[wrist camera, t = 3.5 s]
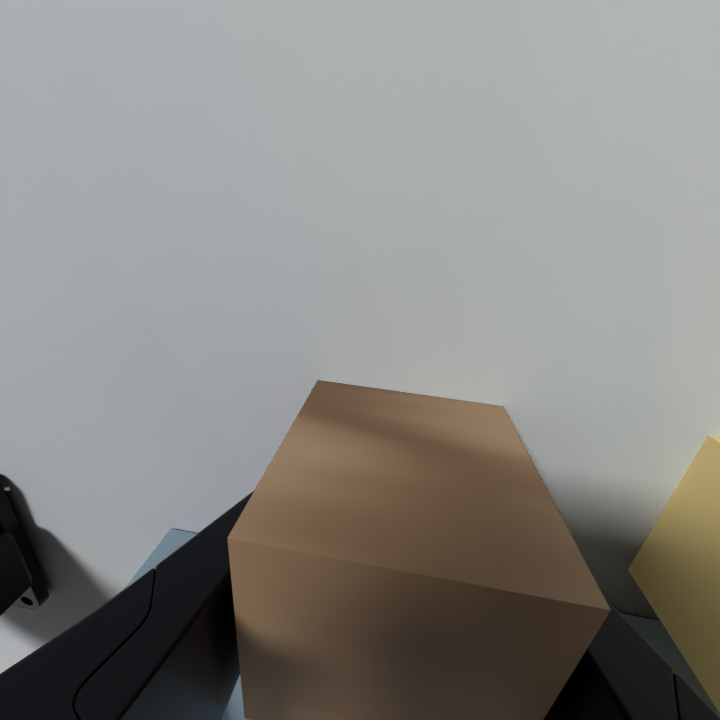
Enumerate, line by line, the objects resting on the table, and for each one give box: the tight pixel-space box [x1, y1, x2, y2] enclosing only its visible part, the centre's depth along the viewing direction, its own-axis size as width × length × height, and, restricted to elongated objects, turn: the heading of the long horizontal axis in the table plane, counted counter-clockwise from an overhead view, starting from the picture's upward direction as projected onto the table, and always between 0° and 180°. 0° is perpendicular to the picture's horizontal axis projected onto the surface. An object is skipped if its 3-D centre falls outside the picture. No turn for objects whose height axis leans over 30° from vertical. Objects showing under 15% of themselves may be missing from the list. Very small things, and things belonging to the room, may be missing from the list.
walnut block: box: [227, 380, 611, 720], centre depth 7 cm, size 4×4×4 cm
